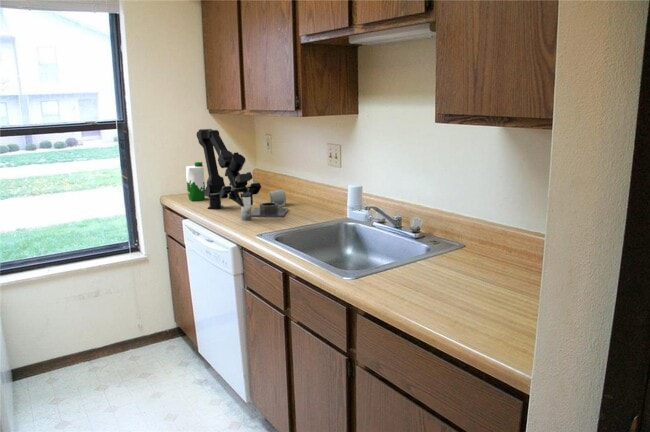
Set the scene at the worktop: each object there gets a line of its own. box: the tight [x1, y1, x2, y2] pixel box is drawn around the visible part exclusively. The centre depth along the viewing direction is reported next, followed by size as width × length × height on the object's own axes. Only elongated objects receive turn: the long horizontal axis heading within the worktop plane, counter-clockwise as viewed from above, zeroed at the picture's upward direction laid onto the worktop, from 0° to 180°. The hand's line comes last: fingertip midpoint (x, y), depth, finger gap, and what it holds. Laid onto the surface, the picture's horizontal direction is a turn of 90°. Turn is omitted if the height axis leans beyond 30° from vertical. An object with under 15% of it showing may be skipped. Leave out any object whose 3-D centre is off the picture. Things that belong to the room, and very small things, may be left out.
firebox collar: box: [251, 202, 289, 218], centre depth 243 cm, size 16×16×4 cm
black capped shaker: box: [240, 191, 253, 221], centre depth 230 cm, size 4×4×12 cm
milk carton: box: [185, 161, 206, 202], centre depth 276 cm, size 9×9×20 cm
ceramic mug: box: [267, 189, 287, 208], centre depth 261 cm, size 11×8×8 cm
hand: (247, 205), depth 229 cm, fingers closed on black capped shaker, 4 cm apart
